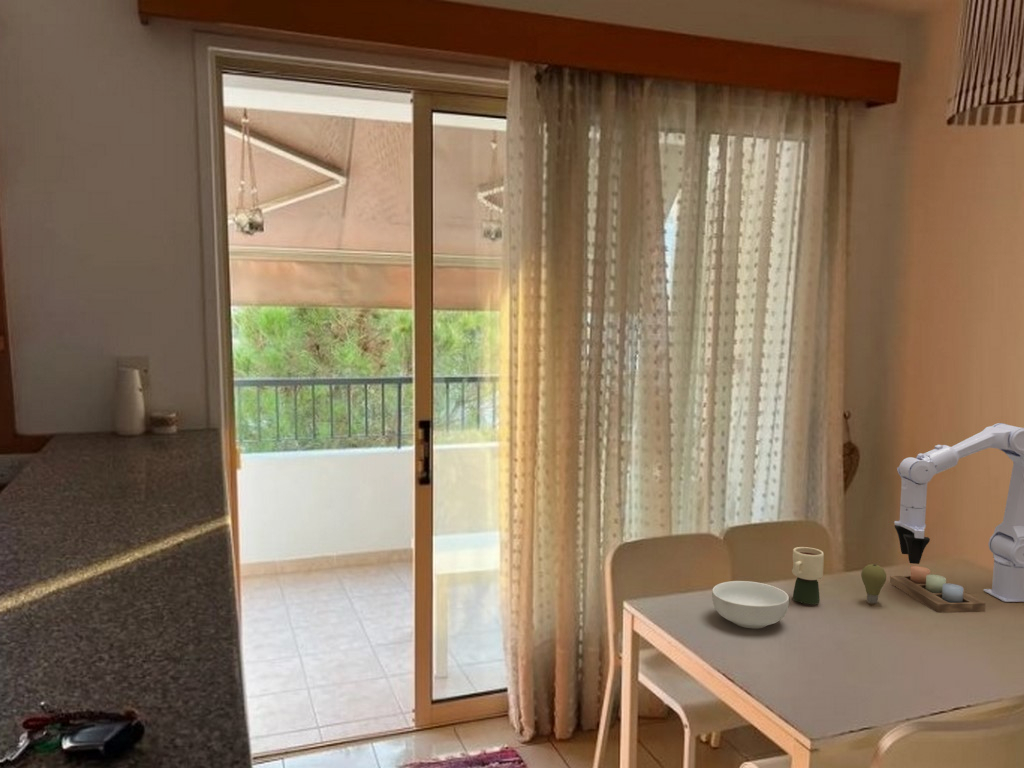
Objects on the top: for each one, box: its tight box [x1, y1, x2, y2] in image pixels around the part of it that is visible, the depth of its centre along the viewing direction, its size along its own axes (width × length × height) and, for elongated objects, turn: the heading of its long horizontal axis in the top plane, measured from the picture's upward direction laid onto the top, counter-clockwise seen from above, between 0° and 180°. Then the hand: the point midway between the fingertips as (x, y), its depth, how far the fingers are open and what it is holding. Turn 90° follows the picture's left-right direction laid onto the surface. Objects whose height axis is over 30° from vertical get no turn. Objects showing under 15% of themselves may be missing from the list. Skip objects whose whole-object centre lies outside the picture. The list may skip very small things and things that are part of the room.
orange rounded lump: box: [909, 565, 931, 584], centre depth 200 cm, size 4×4×4 cm
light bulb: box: [860, 563, 887, 606], centre depth 188 cm, size 6×6×10 cm
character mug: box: [791, 546, 825, 605], centre depth 188 cm, size 11×7×13 cm, turn 129°
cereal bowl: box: [711, 580, 790, 629], centre depth 176 cm, size 17×17×7 cm
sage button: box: [926, 574, 947, 593], centre depth 193 cm, size 4×4×4 cm
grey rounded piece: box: [942, 582, 964, 603], centre depth 187 cm, size 4×4×4 cm
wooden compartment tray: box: [889, 575, 986, 613], centre depth 193 cm, size 12×20×2 cm, turn 5°
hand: (910, 558), depth 193 cm, fingers open, 7 cm apart
